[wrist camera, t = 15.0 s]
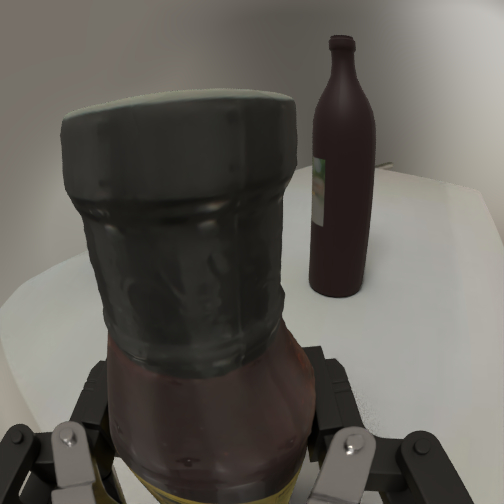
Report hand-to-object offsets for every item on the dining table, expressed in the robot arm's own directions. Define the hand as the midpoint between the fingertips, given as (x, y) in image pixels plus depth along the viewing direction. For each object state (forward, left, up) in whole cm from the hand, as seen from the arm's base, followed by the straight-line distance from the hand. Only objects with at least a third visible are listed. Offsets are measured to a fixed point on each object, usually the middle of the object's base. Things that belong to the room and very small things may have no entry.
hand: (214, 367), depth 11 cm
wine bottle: (+15, +24, -13) cm, 31 cm away
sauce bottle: (0, -2, -11) cm, 11 cm away
